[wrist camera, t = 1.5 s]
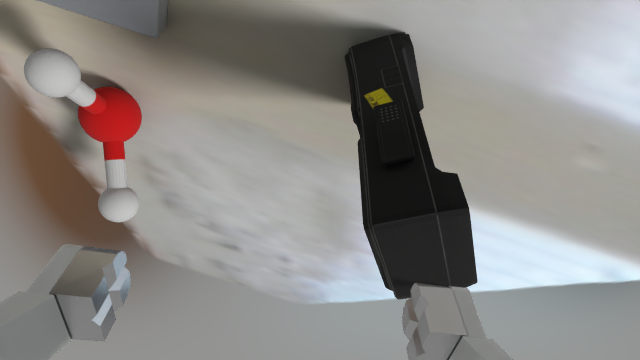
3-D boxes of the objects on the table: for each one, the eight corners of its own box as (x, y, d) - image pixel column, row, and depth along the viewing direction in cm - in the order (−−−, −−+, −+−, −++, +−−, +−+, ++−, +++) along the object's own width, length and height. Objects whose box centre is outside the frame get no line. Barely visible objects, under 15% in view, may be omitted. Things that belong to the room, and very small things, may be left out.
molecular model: (171, 166, 47) (139, 229, 40) (126, 166, 47) (85, 229, 40) (117, 13, 36) (57, 61, 28) (57, 14, 36) (-18, 62, 28)
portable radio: (339, 37, 36) (338, 256, 17) (405, 17, 35) (482, 232, 16) (360, 109, 41) (377, 342, 22) (419, 94, 40) (490, 329, 21)
